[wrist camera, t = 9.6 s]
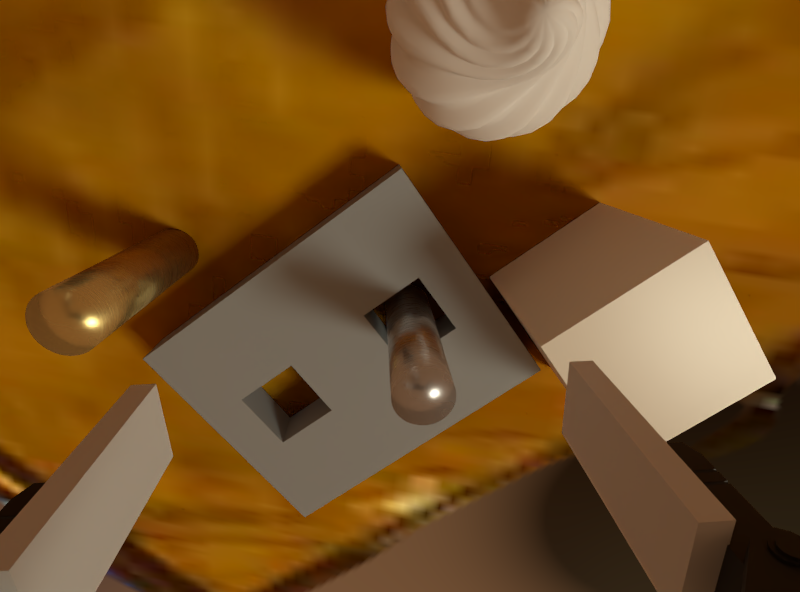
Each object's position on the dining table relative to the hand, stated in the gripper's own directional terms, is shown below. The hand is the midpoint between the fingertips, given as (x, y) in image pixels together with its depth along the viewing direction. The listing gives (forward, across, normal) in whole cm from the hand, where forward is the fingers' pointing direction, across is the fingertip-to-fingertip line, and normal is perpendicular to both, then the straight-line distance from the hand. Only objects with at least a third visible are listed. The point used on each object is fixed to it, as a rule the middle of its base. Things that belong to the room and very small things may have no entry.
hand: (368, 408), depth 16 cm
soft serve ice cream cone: (+18, +6, +12) cm, 22 cm away
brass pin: (+18, -13, +1) cm, 22 cm away
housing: (+18, +14, -3) cm, 23 cm away
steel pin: (+18, +2, -4) cm, 18 cm away
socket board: (+18, -2, -6) cm, 19 cm away
